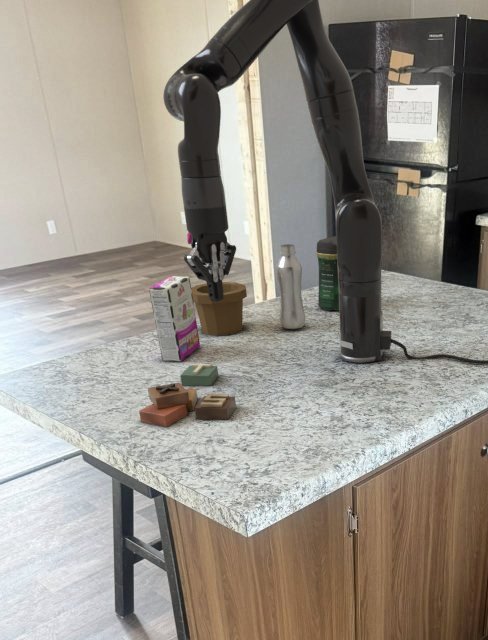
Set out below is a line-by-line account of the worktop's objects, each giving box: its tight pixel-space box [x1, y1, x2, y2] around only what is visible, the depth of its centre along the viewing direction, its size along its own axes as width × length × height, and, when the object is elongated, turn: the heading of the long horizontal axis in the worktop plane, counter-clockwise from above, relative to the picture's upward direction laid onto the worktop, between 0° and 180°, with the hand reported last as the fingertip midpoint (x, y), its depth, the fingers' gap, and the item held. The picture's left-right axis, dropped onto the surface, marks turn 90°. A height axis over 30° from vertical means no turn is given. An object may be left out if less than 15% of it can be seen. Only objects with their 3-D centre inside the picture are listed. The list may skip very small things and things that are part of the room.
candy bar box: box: [148, 275, 201, 363], centre depth 158 cm, size 11×5×16 cm, turn 168°
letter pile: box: [138, 381, 198, 428], centre depth 130 cm, size 8×14×5 cm, turn 174°
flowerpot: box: [186, 231, 248, 337], centre depth 171 cm, size 14×14×30 cm
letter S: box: [194, 393, 237, 421], centre depth 130 cm, size 6×6×3 cm
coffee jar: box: [316, 235, 339, 312], centre depth 191 cm, size 10×8×19 cm
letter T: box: [180, 363, 219, 387], centre depth 146 cm, size 6×6×3 cm
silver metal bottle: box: [275, 243, 306, 330], centre depth 173 cm, size 6×7×20 cm
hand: (216, 300), depth 135 cm, fingers closed
